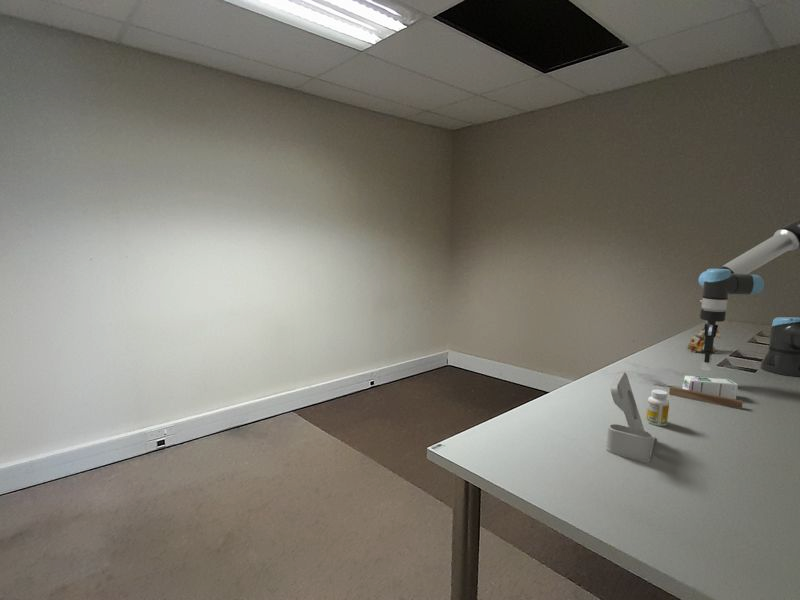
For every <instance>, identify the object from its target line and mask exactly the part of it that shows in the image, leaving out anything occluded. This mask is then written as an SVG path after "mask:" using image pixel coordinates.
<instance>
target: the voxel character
mask: <svg viewBox="0 0 800 600" xmlns="http://www.w3.org/2000/svg"><path fill="white" fill-rule="evenodd" d="M704 327H705V325H703V326H702V328H701V330H700V332H696V333H695V335H694V336H692V337H691V339H690V342H689V343H688V346H687V348H686V349H688V350H690V352H692V353H694V354H695V353H696V352H702V349H703V348H704V345H705V336H704V333H705V329H704ZM721 334H722V333H720V331H719V329H717V331H716V337H717V338H718V339H721V338H722V335H721ZM712 351H713V352H715V351H716V347H715V346H714V344H713V350H712Z"/></svg>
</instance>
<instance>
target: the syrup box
mask: <svg viewBox="0 0 800 600" xmlns="http://www.w3.org/2000/svg"><path fill="white" fill-rule="evenodd" d="M738 387H739V384H738V383H736V382H734V381H733V380H731V379H730V378H722V377H721V378H720V377H709V376H697V375H696V376H695V375H684V376H683V380H682V389H686V390H691V391H696V392H701V393H706V394H711V395H716V396H721V397H726V398H732V399H737V394H738Z"/></svg>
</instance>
